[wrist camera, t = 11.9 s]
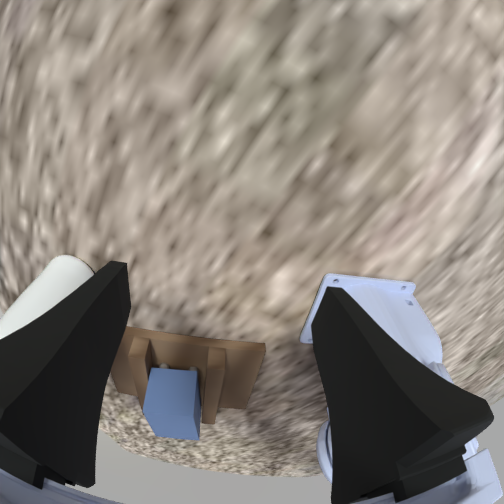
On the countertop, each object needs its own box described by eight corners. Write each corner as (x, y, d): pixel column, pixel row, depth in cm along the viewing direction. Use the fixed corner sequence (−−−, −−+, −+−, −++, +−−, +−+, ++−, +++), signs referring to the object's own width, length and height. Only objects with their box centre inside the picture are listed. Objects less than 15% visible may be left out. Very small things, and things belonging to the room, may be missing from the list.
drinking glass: (51, 297, 23) (-14, 424, 10) (40, 237, 20) (-60, 372, 7) (110, 313, 24) (59, 461, 12) (106, 252, 21) (20, 422, 8)
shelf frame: (264, 343, 27) (267, 372, 24) (245, 402, 33) (246, 426, 30) (101, 321, 25) (89, 348, 22) (119, 385, 31) (113, 408, 28)
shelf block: (201, 400, 29) (199, 440, 24) (161, 397, 28) (155, 436, 24) (197, 371, 26) (193, 416, 21) (151, 367, 25) (142, 411, 21)
